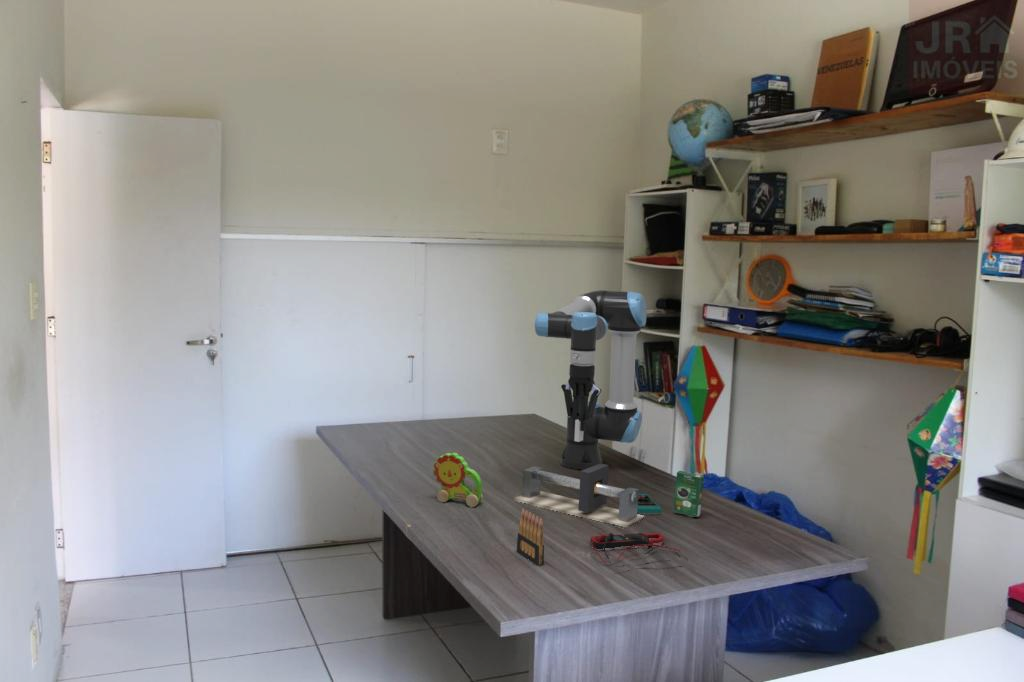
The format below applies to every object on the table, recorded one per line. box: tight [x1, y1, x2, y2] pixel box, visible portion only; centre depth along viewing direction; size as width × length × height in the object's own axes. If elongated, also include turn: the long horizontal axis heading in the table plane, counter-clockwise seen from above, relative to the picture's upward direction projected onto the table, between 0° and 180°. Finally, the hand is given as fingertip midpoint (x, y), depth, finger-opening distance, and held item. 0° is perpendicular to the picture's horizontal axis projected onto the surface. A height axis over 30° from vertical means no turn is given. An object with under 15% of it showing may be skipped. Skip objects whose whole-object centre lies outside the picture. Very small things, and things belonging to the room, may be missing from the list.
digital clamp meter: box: [589, 532, 681, 564], centre depth 222 cm, size 23×4×25 cm
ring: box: [578, 463, 610, 512], centre depth 255 cm, size 3×12×12 cm, turn 145°
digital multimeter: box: [637, 493, 662, 514], centre depth 264 cm, size 7×15×3 cm, turn 8°
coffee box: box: [673, 470, 705, 516], centre depth 257 cm, size 8×3×13 cm, turn 54°
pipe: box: [521, 466, 640, 522], centre depth 258 cm, size 37×6×9 cm, turn 55°
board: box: [513, 490, 645, 527], centre depth 259 cm, size 39×12×1 cm, turn 55°
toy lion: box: [432, 452, 484, 508], centre depth 260 cm, size 16×5×15 cm, turn 68°
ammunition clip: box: [516, 507, 545, 566], centre depth 217 cm, size 11×2×12 cm, turn 30°
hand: (578, 440), depth 257 cm, fingers closed
